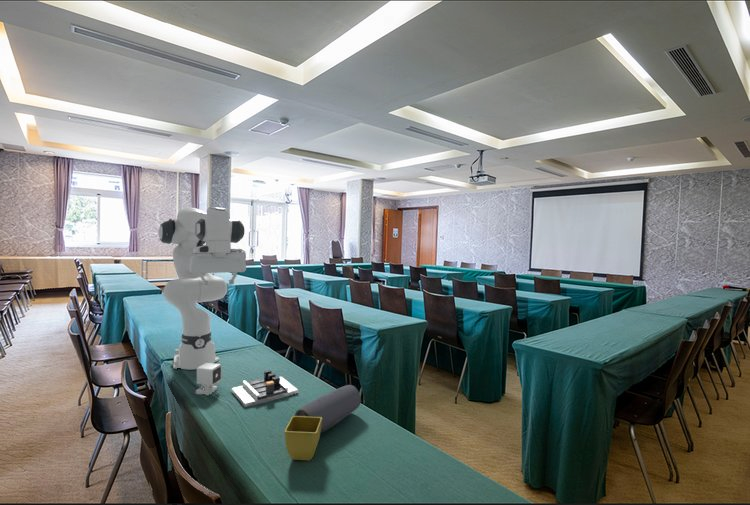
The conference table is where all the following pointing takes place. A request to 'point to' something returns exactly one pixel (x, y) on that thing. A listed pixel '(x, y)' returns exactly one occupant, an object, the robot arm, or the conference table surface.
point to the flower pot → (302, 436)
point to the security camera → (208, 377)
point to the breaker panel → (263, 390)
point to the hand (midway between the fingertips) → (218, 284)
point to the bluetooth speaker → (332, 406)
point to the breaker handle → (269, 387)
